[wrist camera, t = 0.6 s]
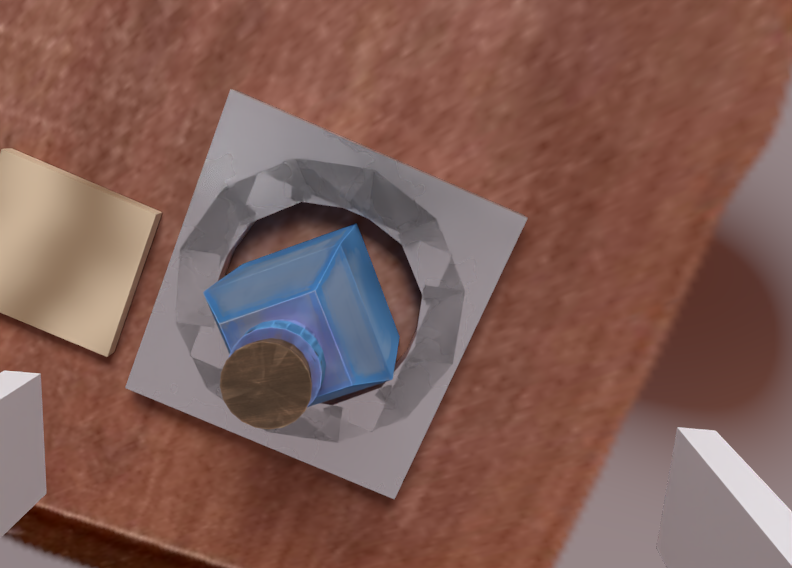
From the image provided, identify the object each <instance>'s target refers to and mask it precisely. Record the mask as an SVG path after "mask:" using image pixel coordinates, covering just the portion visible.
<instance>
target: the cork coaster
mask: <svg viewBox="0 0 792 568" xmlns="http://www.w3.org/2000/svg"><path fill="white" fill-rule="evenodd" d="M161 215H162V212H160V211H158V210H155V209H153V208H151V207H148V206H146V205H144V204H141V203H139V202H137V201H134V200H132V199H129V198H127V197H125V196H122V195H120V194H118V193H115V192H113V191H111V190H108V189H106V188H104V187H101V186H99V185H97V184H94V183H92V182H89V181H87V180H85V179H82V178H80V177H78V176H75V175H73V174H71V173H68V172H66V171H64V170H61V169H59V168H57V167H54V166H52V165H50V164H47V163H45V162H42V161H40V160H38V159H35V158H33V157H31V156H28V155H26V154H24V153H21V152H19V151H17V150H14V149H12V148H10V149H2V150H1V154H0V313H2V314H5V315H7V316H10V317H12V318H15V319H17V320H19V321H22V322H24V323H27V324H29V325H31V326H34V327H36V328H39V329H41V330H43V331H46V332H48V333H51V334H53V335H55V336H58V337H60V338H63V339H65V340H67V341H70V342H72V343H75V344H77V345H79V346H82V347H84V348H87V349H89V350H92V351H94V352H96V353H99V354H101V355H104V356H106V357H108V356H109V355H111V354H112V353H114V351H115V349H116V346H117V343H118V340H119V337H120V334H121V331H122V328H123V325H124V322H125V320H126V317H127V314H128V311H129V308H130V305H131V302H132V299H133V296H134V293H135V290H136V288H137V285H138V282H139V279H140V276H141V273H142V270H143V267H144V264H145V261H146V259H147V256H148V253H149V250H150V247H151V244H152V241H153V238H154V235H155V232H156V229H157V227H158V224H159V221H160V218H161Z"/></svg>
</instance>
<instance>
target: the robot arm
mask: <svg viewBox="0 0 792 568" xmlns="http://www.w3.org/2000/svg"><path fill="white" fill-rule="evenodd" d="M45 494H46V474H45V453H44V433H43V412H42V391H41V374H39V373H27V372H15V371H3V372H1V373H0V538H1V537H2V536H3V535H4V534H5V533H6V532H7V531H8V530H9V529H10V528H11V527H12V526H13V525H14V524H15V523H16V522H17V521H18V520H19V519H20V518H22V517H23V516H24V515H25V514H26V513H27V512H28V511H29V510H30V509H31V508H32V507H33V506H34V505H35V504H36V503H37V502H38V501H39V500H40V499H41V498H42V497H43V496H44V495H45ZM656 549H657V550H658V552H659V554H660V556H661V558H662V560H663V562H664V563H665V565H666V567H667V568H792V511H791V510H790V509H789V508H788V507H787V506H786V505H785V504H784V503H783V502H782V501H781V500H780V498H779V497H778V496H777V495H776V494H775V493H774V492H773V491H772V490H771V489H770V488H769V487H768V486H767V485H766V484H765V483H764V482H763V480H762V479H761V478H759V476H758V475H757V474H756V473H755V472H754V471H753V470H752V469H751V468H750V467H749V466H748V465H747V463H745V461H744V460H743V459H742V458H741V457H740V456H739V455H738V454H737V453H736V452H735V451H734V450H733V449H732V448H731V446H730V445H729V444H728V443H727V442H726V441H725V440H724V439H723V438H722V437H721V436H720V435H719V434H718V433H717V432H716V431H713V430H702V429H690V428H677V433H676V439H675V444H674V450H673V455H672V461H671V467H670V472H669V478H668V483H667V490H666V495H665V500H664V506H663V512H662V518H661V523H660V530H659V534H658V540H657V546H656Z"/></svg>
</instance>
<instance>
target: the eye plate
mask: <svg viewBox="0 0 792 568" xmlns="http://www.w3.org/2000/svg"><path fill="white" fill-rule="evenodd" d="M300 202H307V203H314V204H320V205H327V206H334V207H341V208H345V209H347V210H349V211H352V212H354V213H356V214H359V215H361V216H363V217H366V218H368V219H370V220H371V221H372V222H373V223H375V224H376V225H377V226H379V227H380V228H381V229H382V230H384V231H385V232H386V233H387V234H389V235H390V236H391V237H393V238H394V239H395V240H396V241H398V242H399V243H400V244H402V246H403V249H404V251H405V254H406V256H407V259H408V261H409V264H410V266H411V269H412V271H413V274H414V276H415V278H416V281H417V283H418V286H419V288H420V291H421V293H422V299H421V305H420V312H419V318H418V325H417V329H416V331H415V333H414V336H413V338H412V340H411V342H410V344H409V347H408V349H407V351H406V352H405V353H404V354H403V356H402V357H401V358H400V359H399V360H398V362H397V363H396V364H395V368H394V374H393V379H392V380H389V381H386V382H383V383H380V384H377V385H374V386H371V387H368V388H365V389H362V390H359V391H356V392H353V393H349V394H346V395H343V396H340V397H337V398H334V399H331V400H328V401H325V402H322V403H319V404H316V405H313V406H310V407H307V408H306V410H305V412H304V413H303V414H302V415H301V416H300V417H299V418H298V419H297V420H296V421H295V422H293V423H291V424H289V425H287V426H285V427H282V428H276V429H270V430H269V429H261V428H255V427H253V426H250V425H248V424H246V423H244V422H242V421H241V420H239V419H238V418H237V417H236V416H235V415H234V414H232V413H231V412H230V410H229V408H228V407H227V405H226V404H225V402H224V400H223V397H222V393H221V389H220V377H221V371H222V369H223V367H224V365H225V362H226V360H227V359H228V357H229V355H230V354H229V352H228V349H227V347H226V345H225V342H224V340H223V338H222V335H221V333H220V331H219V328H218V326H217V324H216V322H215V319H214V317H213V315H212V312H211V310H210V308H209V305H208V303H207V301H206V298H205V296H204V294H203V292H204V291H205V290H207V289H208V288H209V287H211V286H212V285H214V284H215V283H217V282H218V281H219V280H221V279H222V278H224V277H225V274H226V271H227V269H228V266H229V263H230V261H231V258H232V255H233V253H234V250H235V249H236V247H237V246H238V245H239V243H240V242H241V241H242V239H243V238H244V236H245V235H246V234H247V232H248V231H249V230H250V228H251V227H252V226H253V224H254V223H255V222H256V220H258V219H261V218H263V217H265V216H268V215H270V214H273V213H275V212H278V211H280V210H283V209H285V208H288V207H290V206H292V205H295V204H297V203H300ZM526 220H527V217H526V216H525V215H523V214H521V213H518V212H516V211H514V210H512V209H509V208H507V207H505V206H502V205H500V204H498V203H495V202H493V201H491V200H488V199H486V198H484V197H482V196H479V195H477V194H475V193H472V192H470V191H468V190H465V189H463V188H461V187H459V186H456V185H454V184H452V183H449V182H447V181H445V180H442V179H440V178H438V177H436V176H433V175H431V174H429V173H426V172H424V171H422V170H419V169H417V168H415V167H413V166H410V165H408V164H406V163H403V162H401V161H399V160H396V159H394V158H392V157H389V156H387V155H385V154H383V153H380V152H378V151H376V150H373V149H371V148H369V147H366V146H364V145H362V144H360V143H357V142H355V141H353V140H350V139H348V138H346V137H343V136H341V135H339V134H337V133H334V132H332V131H330V130H327V129H325V128H323V127H320V126H318V125H316V124H314V123H311V122H309V121H307V120H304V119H302V118H300V117H297V116H295V115H293V114H291V113H288V112H286V111H284V110H281V109H279V108H277V107H274V106H272V105H270V104H267V103H265V102H263V101H261V100H258V99H256V98H254V97H251V96H249V95H247V94H244V93H242V92H240V91H237V90H232V89H231V90H230V92H229V95H228V98H227V101H226V104H225V107H224V109H223V112H222V115H221V118H220V121H219V124H218V126H217V129H216V132H215V135H214V138H213V141H212V143H211V146H210V149H209V152H208V155H207V158H206V160H205V163H204V166H203V169H202V172H201V175H200V177H199V180H198V183H197V186H196V189H195V192H194V194H193V197H192V200H191V203H190V206H189V209H188V211H187V214H186V217H185V220H184V223H183V226H182V228H181V231H180V234H179V237H178V240H177V243H176V245H175V248H174V251H173V254H172V257H171V260H170V262H169V265H168V268H167V271H166V274H165V277H164V279H163V282H162V285H161V288H160V291H159V294H158V296H157V299H156V302H155V305H154V308H153V311H152V313H151V316H150V319H149V322H148V325H147V328H146V330H145V333H144V336H143V339H142V342H141V345H140V347H139V350H138V353H137V356H136V359H135V362H134V364H133V367H132V370H131V373H130V376H129V379H128V381H127V384H126V387H125V388H127V389H129V390H131V391H134V392H136V393H139V394H141V395H144V396H146V397H148V398H151V399H153V400H156V401H158V402H160V403H163V404H165V405H168V406H170V407H172V408H175V409H177V410H180V411H182V412H185V413H187V414H189V415H192V416H194V417H197V418H199V419H201V420H204V421H206V422H209V423H211V424H214V425H216V426H218V427H221V428H223V429H226V430H228V431H230V432H233V433H235V434H238V435H240V436H242V437H245V438H247V439H250V440H252V441H255V442H257V443H259V444H262V445H264V446H267V447H269V448H271V449H274V450H276V451H279V452H281V453H284V454H286V455H288V456H291V457H293V458H296V459H298V460H300V461H303V462H305V463H308V464H310V465H312V466H315V467H317V468H320V469H322V470H325V471H327V472H329V473H332V474H334V475H337V476H339V477H341V478H344V479H346V480H349V481H351V482H354V483H356V484H358V485H361V486H363V487H366V488H368V489H370V490H373V491H375V492H378V493H380V494H383V495H385V496H387V497H390V498H392V499H395V497H396V495H397V493H398V491H399V489H400V487H401V485H402V482H403V480H404V478H405V476H406V474H407V472H408V470H409V468H410V465H411V463H412V461H413V459H414V457H415V455H416V453H417V451H418V449H419V446H420V444H421V442H422V440H423V438H424V436H425V434H426V432H427V430H428V427H429V425H430V423H431V421H432V419H433V417H434V415H435V413H436V411H437V408H438V406H439V404H440V402H441V400H442V398H443V396H444V394H445V392H446V389H447V387H448V385H449V383H450V381H451V379H452V377H453V375H454V373H455V370H456V368H457V366H458V364H459V362H460V360H461V358H462V356H463V354H464V351H465V349H466V347H467V345H468V343H469V341H470V339H471V337H472V334H473V332H474V330H475V328H476V326H477V324H478V322H479V320H480V318H481V315H482V313H483V311H484V309H485V307H486V305H487V303H488V301H489V299H490V296H491V294H492V292H493V290H494V288H495V286H496V284H497V282H498V280H499V277H500V275H501V273H502V271H503V269H504V267H505V265H506V263H507V261H508V258H509V256H510V254H511V252H512V250H513V248H514V246H515V244H516V242H517V239H518V237H519V235H520V233H521V231H522V229H523V227H524V225H525V223H526Z"/></svg>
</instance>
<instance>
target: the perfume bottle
mask: <svg viewBox="0 0 792 568" xmlns="http://www.w3.org/2000/svg"><path fill="white" fill-rule="evenodd" d="M203 294H204V296H205V298H206V301H207V303H208V305H209V308H210V310H211V312H212V315H213V317H214V319H215V322H216V324H217V326H218V328H219V331H220V333H221V335H222V338H223V340H224V342H225V345H226V347H227V349H228V352H229V354H230V355H229V357H228V359H227V360H226V362H225V365H224V367H223V369H222V371H221V377H220V389H221V393H222V397H223V400H224V402H225V404H226V405H227V407H228V408H229V410H230V412H231V413H232V414H234V415H235V416H236V417H237V418H238V419H239V420H241V421H242V422H244V423H246V424H248V425H250V426H253V427H255V428H261V429H269V430H270V429H276V428H282V427H285V426H287V425H289V424H291V423H293V422H295V421H296V420H297V419H298V418H299V417H300V416H301V415H302V414H303V413H304V412H305V410H306V408H307V407H310V406H313V405H316V404H319V403H322V402H325V401H328V400H331V399H334V398H337V397H340V396H343V395H346V394H349V393H353V392H356V391H359V390H362V389H365V388H368V387H371V386H374V385H377V384H380V383H383V382H386V381H389V380H392V379H393V374H394V368H395V362H396V356H397V349H398V343H399V334H398V331H397V329H396V326H395V323H394V321H393V318H392V315H391V313H390V310H389V307H388V305H387V302H386V299H385V297H384V294H383V291H382V289H381V286H380V283H379V281H378V278H377V275H376V273H375V270H374V267H373V265H372V262H371V259H370V257H369V254H368V251H367V249H366V246H365V243H364V241H363V238H362V235H361V233H360V230H359V227H358V225H357V223H356V224H353V225H350V226H347V227H345V228H342V229H339V230H336V231H334V232H331V233H328V234H325V235H322V236H320V237H317V238H314V239H311V240H308V241H306V242H303V243H300V244H297V245H294V246H292V247H289V248H286V249H283V250H280V251H278V252H275V253H272V254H269V255H267V256H264V257H261V258H258V259H255V260H253V261H250V262H247V263H244V264H242V265H241V266H239V267H238V268H236V269H235V270H234V271H232V272H231V273H229V274H228V275H226V276H225V277H224V278H222V279H221V280H219V281H218V282H217V283H215V284H214V285H212V286H211V287H209V288H208V289H207V290H205V291H204V292H203Z"/></svg>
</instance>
